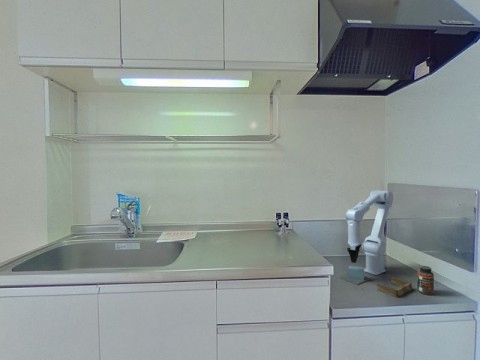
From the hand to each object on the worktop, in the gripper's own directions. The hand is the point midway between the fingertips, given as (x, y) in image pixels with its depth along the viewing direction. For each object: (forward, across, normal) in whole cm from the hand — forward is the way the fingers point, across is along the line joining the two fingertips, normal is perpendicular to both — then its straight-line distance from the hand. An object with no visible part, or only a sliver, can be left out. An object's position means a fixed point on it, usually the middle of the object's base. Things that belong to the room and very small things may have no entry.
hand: (354, 260), depth 135 cm
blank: (+9, 0, -1) cm, 9 cm away
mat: (+9, 0, 0) cm, 9 cm away
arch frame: (+9, -6, -17) cm, 20 cm away
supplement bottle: (+10, -3, -29) cm, 31 cm away
